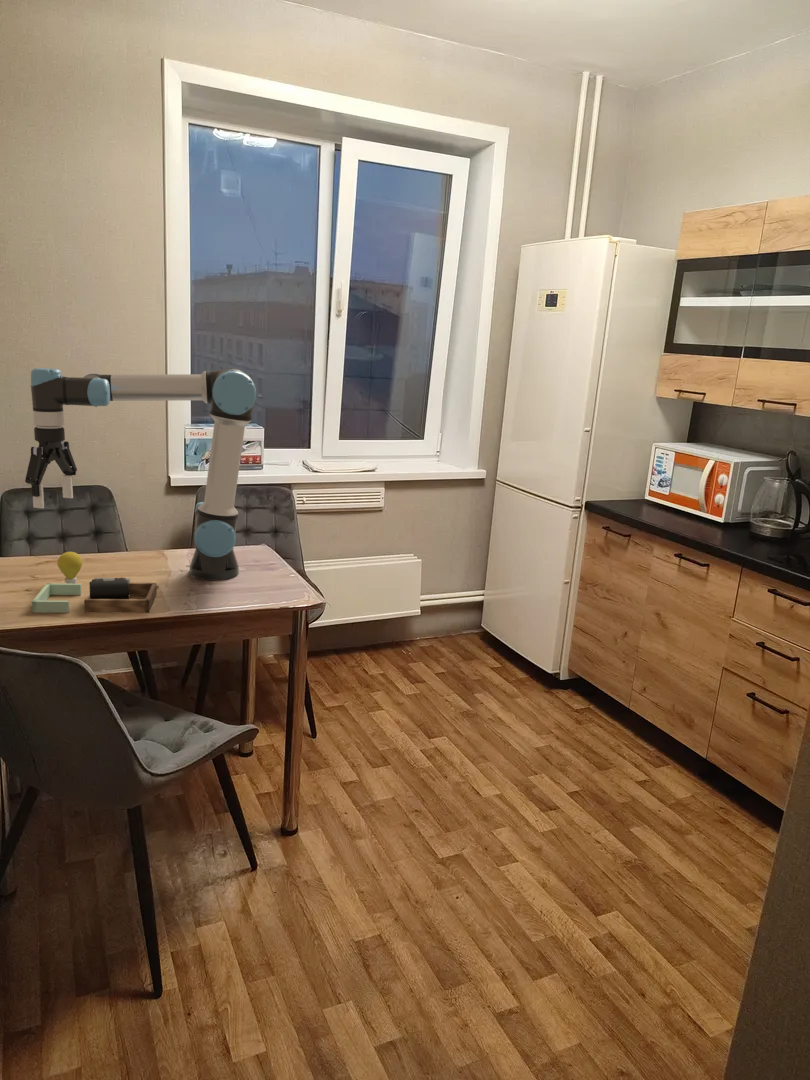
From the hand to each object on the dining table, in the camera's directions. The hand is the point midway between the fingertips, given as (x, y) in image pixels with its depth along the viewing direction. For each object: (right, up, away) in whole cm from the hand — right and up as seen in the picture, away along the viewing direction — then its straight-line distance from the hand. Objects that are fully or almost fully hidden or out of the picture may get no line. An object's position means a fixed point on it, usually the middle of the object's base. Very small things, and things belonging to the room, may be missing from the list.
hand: (53, 502), depth 213 cm
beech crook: (+21, -25, +10) cm, 34 cm away
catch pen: (+3, -28, -4) cm, 28 cm away
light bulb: (0, -24, +10) cm, 26 cm away
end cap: (+16, -28, -1) cm, 33 cm away
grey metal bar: (+11, -24, +15) cm, 30 cm away
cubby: (+19, -28, -1) cm, 34 cm away
